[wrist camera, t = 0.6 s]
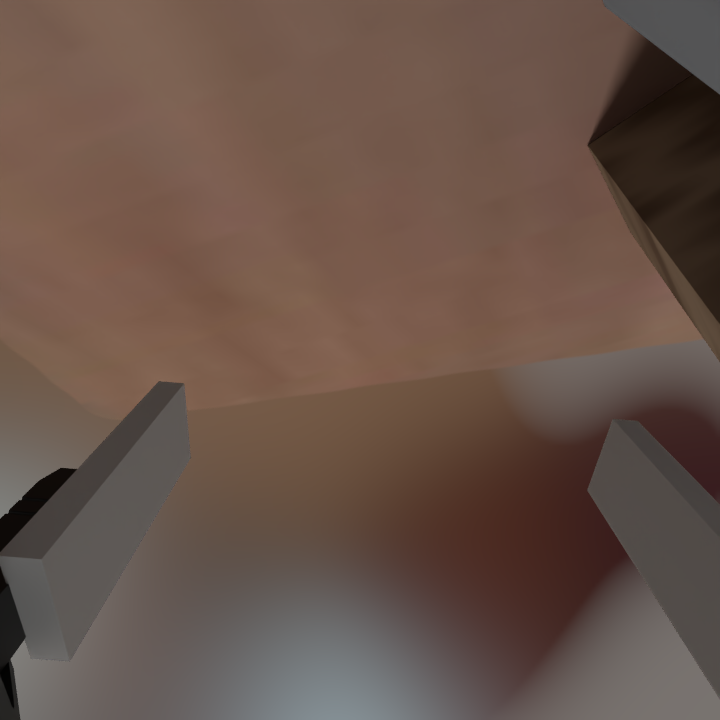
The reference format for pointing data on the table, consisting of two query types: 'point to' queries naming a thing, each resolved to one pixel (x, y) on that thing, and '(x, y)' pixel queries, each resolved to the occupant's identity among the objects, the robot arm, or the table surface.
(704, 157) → the walnut plinth
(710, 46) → the grey pedestal
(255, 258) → the table surface
